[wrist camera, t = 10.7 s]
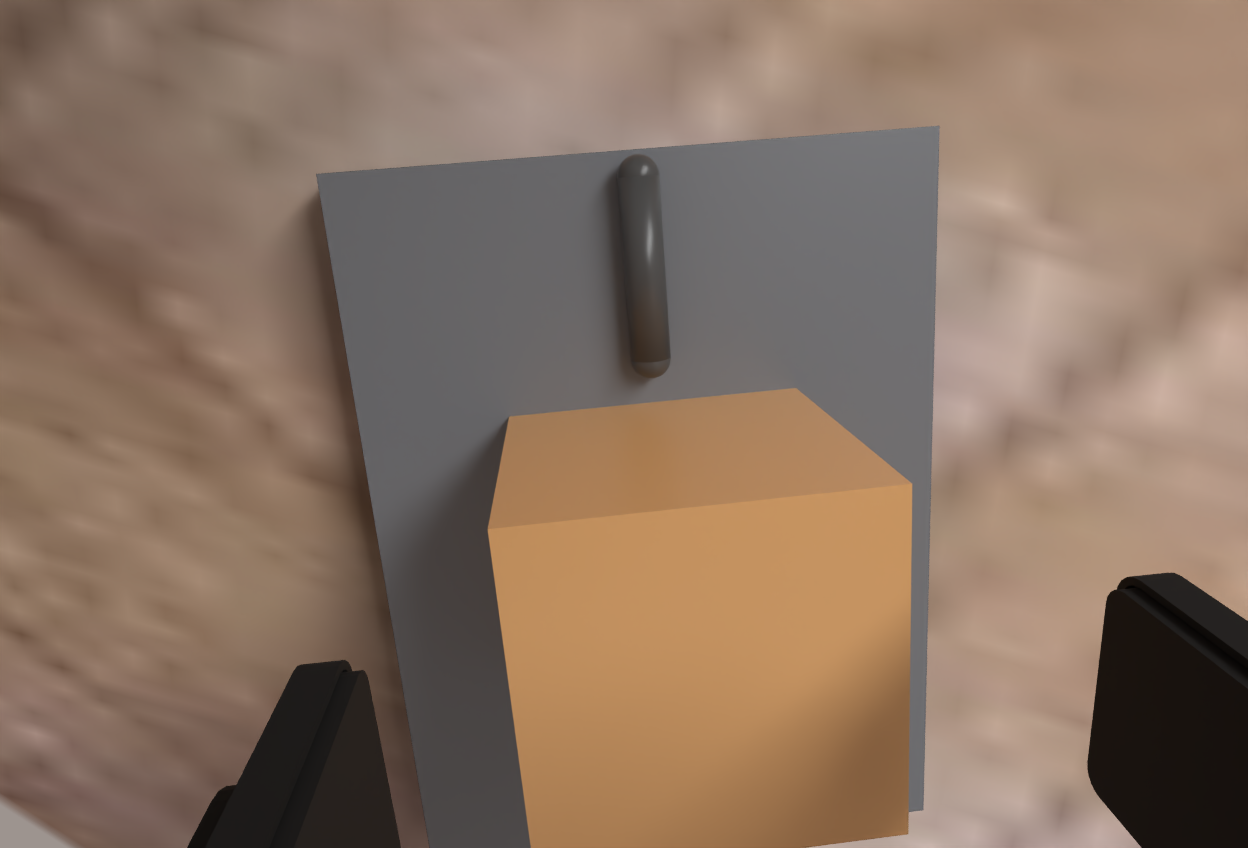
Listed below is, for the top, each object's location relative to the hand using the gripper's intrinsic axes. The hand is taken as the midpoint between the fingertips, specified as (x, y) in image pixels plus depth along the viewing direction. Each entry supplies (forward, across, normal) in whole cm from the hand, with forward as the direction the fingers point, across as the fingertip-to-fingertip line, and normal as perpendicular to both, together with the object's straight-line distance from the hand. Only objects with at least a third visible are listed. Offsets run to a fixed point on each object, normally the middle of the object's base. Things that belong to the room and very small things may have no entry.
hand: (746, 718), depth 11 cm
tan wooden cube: (+8, 0, +1) cm, 8 cm away
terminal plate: (+9, 0, +1) cm, 9 cm away
